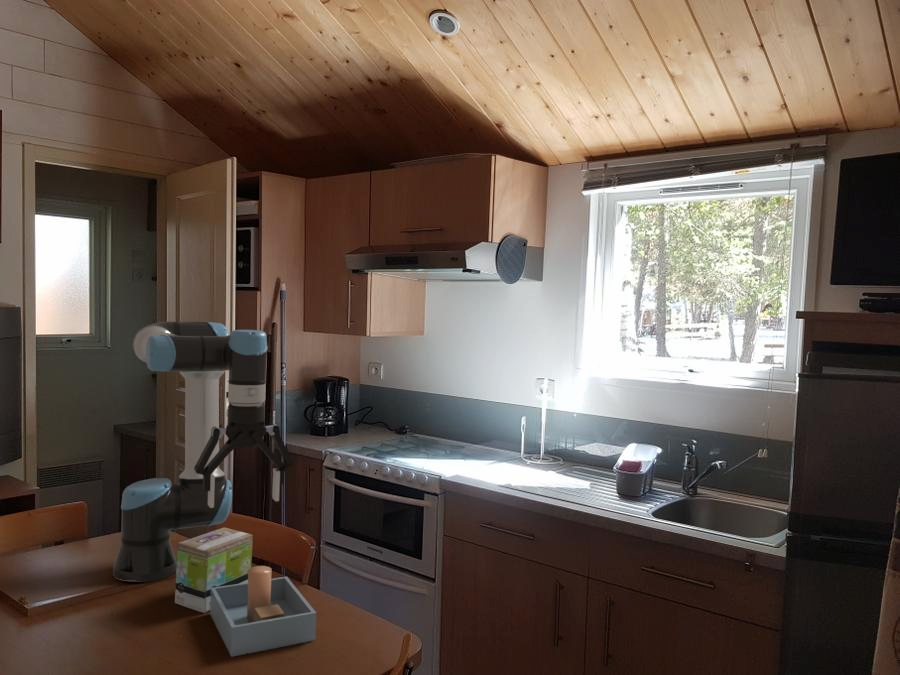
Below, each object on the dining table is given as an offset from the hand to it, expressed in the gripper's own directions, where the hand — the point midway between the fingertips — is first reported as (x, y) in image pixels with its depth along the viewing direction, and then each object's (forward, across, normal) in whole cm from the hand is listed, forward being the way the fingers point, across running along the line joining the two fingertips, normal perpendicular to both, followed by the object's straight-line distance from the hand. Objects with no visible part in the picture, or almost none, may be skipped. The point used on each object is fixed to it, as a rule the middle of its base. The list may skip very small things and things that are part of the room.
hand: (243, 502), depth 155 cm
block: (+28, +5, -4) cm, 28 cm away
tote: (+29, +5, +2) cm, 29 cm away
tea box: (+29, -1, +21) cm, 36 cm away
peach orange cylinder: (+28, +5, +4) cm, 28 cm away
